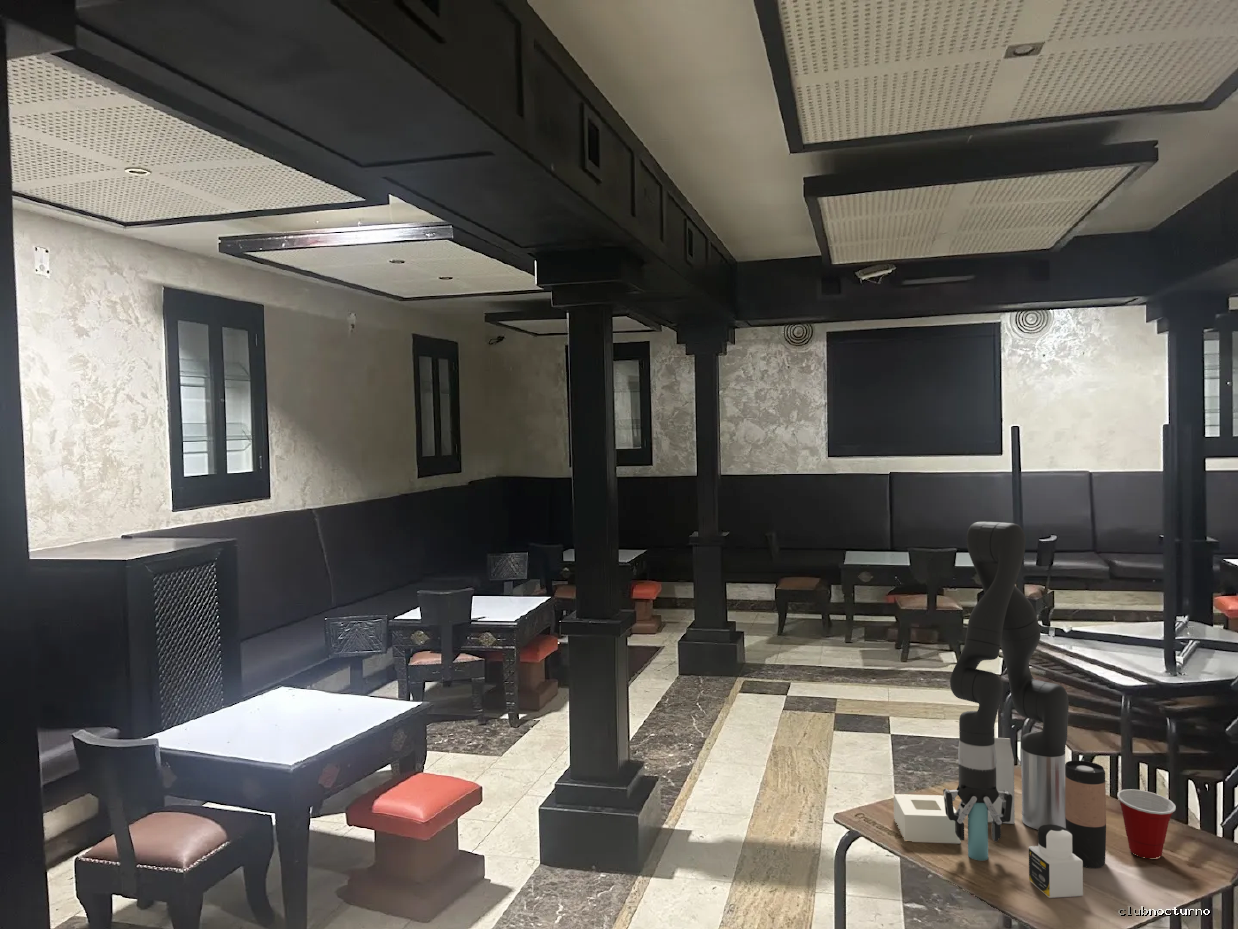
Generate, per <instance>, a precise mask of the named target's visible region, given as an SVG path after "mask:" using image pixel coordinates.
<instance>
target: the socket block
mask: <svg viewBox="0 0 1238 929" xmlns="http://www.w3.org/2000/svg"><path fill="white" fill-rule="evenodd" d="M953 809H954V813H956V811H957V809H956V807H955V806H953ZM894 819H895V820H894ZM893 820H894V823H895V824H896V823H897V824H896V826H897V825H898V826H897V828H898V830H899V829H900V830H899V832H900V831H901V832H900V835H901V836H902V835H903V836H902V838H903V837H904V838H903V841H905V840H908V841H912V842H911V843H938V844H961V841H962V840H960V839H959V837H957V835H956V833H955V821H954V820H950V819H949V818H948V816H947V815H946V812H945V803H944V794H943V795H940V794H939V795H937V794H910V793H908V794H904V793H903V794H902V793H893Z"/></svg>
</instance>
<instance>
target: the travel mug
mask: <svg viewBox="0 0 1238 929" xmlns="http://www.w3.org/2000/svg"><path fill="white" fill-rule="evenodd" d="M1106 790H1107V789H1106V770H1105V768H1104V767H1103V766H1102V765H1101V764H1099V763H1095V762H1092V761H1088V760H1076V759H1075V760H1069V761H1065V822H1066V829H1067V830H1069V831H1070V832H1071V834H1072V853H1073V854H1074V855H1076V856H1077V857H1078V858H1080V859H1081V860H1082V861H1083V868H1089V869H1099V868H1103V867H1104V866H1105V865H1106V852H1107V850H1106V848H1107V847H1106V846H1107V844H1106V843H1107V804H1106V803H1107V799H1106V798H1107V796H1106V793H1107V792H1106Z"/></svg>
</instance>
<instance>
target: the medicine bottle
mask: <svg viewBox="0 0 1238 929" xmlns="http://www.w3.org/2000/svg"><path fill="white" fill-rule="evenodd" d="M1037 834H1038V835H1037V841H1038V842H1037V843H1038V845H1032V846H1031V845H1030V846H1028V880H1029V882H1030V883H1031V884H1032V885H1033V886H1035V888H1037V889H1038V890H1039V891H1041V892H1042V893H1043V894H1044V895H1045V896H1046V897H1047V898H1049V899H1054V898H1055V899H1057V898H1072V897H1075V898H1076V897H1083V896H1084V875H1083V873H1084V870H1083V868H1084V867H1083V861H1082V860H1081V859H1080V858H1078V857H1077V856H1076V855H1074V854H1073V853H1072V834H1071V832H1070V831H1069V830H1067V829H1066V828H1064V827H1061V826H1058V825H1052V824H1048V825H1042V826H1040V827H1039V828H1038V830H1037Z"/></svg>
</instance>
